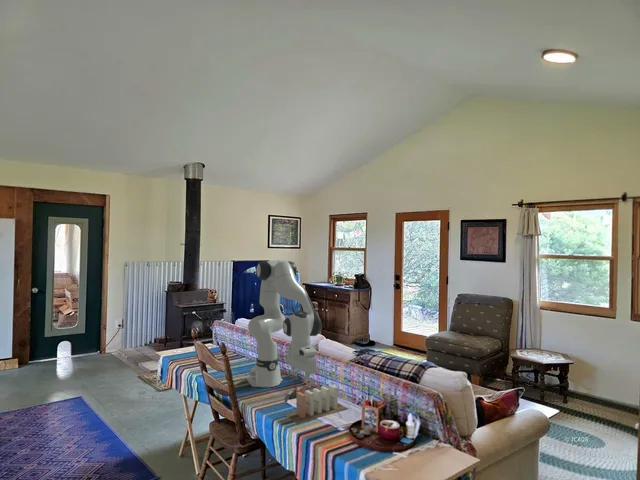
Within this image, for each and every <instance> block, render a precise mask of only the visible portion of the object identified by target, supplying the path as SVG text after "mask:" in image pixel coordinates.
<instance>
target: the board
mask: <svg viewBox="0 0 640 480" xmlns="http://www.w3.org/2000/svg"><path fill="white" fill-rule="evenodd" d="M346 410H349V408H348V407H346V406H344V405H343V404H340V403H339V402H337V409H333V408H331V407H330V411H325V410H323V409H322V413H317V412H315V411H314V415H312V416H310V415H308V414H307V413H306V417H305V418H301V417H300V416H298V415H296V410H295V411H291V412H287V413H284V414H283V415H284V416H285V417H287V418H288V419H290V420H291V421H293V422H295V424H297V425H298V424H301V423H305V422H308V421H311V420H315V419H319V418H322V417H326V416H329V415H333V414H336V413H339V412H343V411H346Z"/></svg>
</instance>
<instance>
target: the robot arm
mask: <svg viewBox="0 0 640 480" xmlns="http://www.w3.org/2000/svg"><path fill="white" fill-rule="evenodd" d="M297 268H298V267H297V265H296V264H295V262H293V261H289V260H288V261H286V260H262V261H259V262H258V263H257V265H256V276H257V278H258V279H259V280H261V284H260V291H259V300H258V301H259V305H260V306H261V307H263V310H264V314H262V315H257V316H255V317H253V318H252V319H250V320H249V322H248V324H247V327H248V328H247V329H248V332H249V333H250V335H251V336H253V337H254V339H255V342H256V347H257V357H256V358H255V360H256V362H255V365H254V366H253V367H252V368H250V371H249V376H247V377H246V379H245V380H247V381H246V382H248V384H250V386H251V387H254V388H257V387H258V388H272V387H277V386H279V385H280V384H281V382H283V378H282V377H281V366H280V365H279V358H278V344H277V342H276V341H275V340H274V339H273V337H272V335H273V334H275V333H277V332H280V331H281V330H282V331H283V333H284V334H285V335H286V336H287V337H290V338H291V341H290V343H289V345H288V349H287V352H286V363H287V364H288V365H290V366H291V370H292V376H294V377H296V376H298V373H299V371H298V370H300V371H302V372H304V376H303V381H304V382H305V383H307V382H309V381H310V380H309V378H310V376H311V375H312V374H315V373H316V371H317V357H316V355H317V353H318V351H317V350H316V348H315V347H314V346H313V345H312V344H311V338H310V337H316V336H318V335H319V334H320V333H321V331H322V330H323V323H322V322H323V321H322V319H321V318H320V316H319V315H318V313H317V312H316V309H315V306H314V305H313V302H312V300H311V297H310V296H309V293H308V292H307V290H306V289H305V288H304V287H303V286H301V285H300V284H299V283H298V281H297V274H298V273H297V271H298V270H297ZM280 297H283V298H284V299H288V300H292V301H295V302H297V303H298V304H300V305H301V307H302V308H303V310H297V311H294V312H293V313H292V315H290V316H287V317H285V315H284V314H283V313H282V311H281V308H280V307H281V306H280V299H281V298H280ZM297 369H298V370H297Z"/></svg>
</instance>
